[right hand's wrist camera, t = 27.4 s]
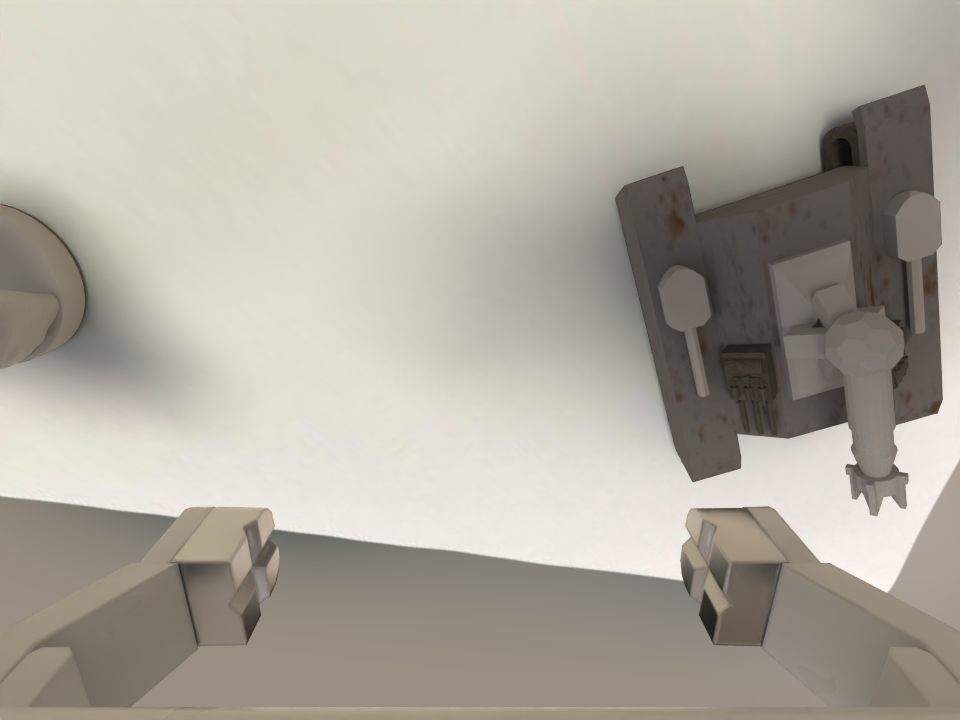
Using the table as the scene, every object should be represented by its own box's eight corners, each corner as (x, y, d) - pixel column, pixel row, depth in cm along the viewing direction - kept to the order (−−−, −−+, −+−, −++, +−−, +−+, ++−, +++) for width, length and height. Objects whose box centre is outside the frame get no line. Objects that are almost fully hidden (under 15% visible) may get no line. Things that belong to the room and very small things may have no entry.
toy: (607, 183, 42) (672, 194, 28) (872, 92, 40) (1088, 53, 26) (673, 454, 50) (748, 568, 36) (895, 391, 48) (1067, 487, 34)
